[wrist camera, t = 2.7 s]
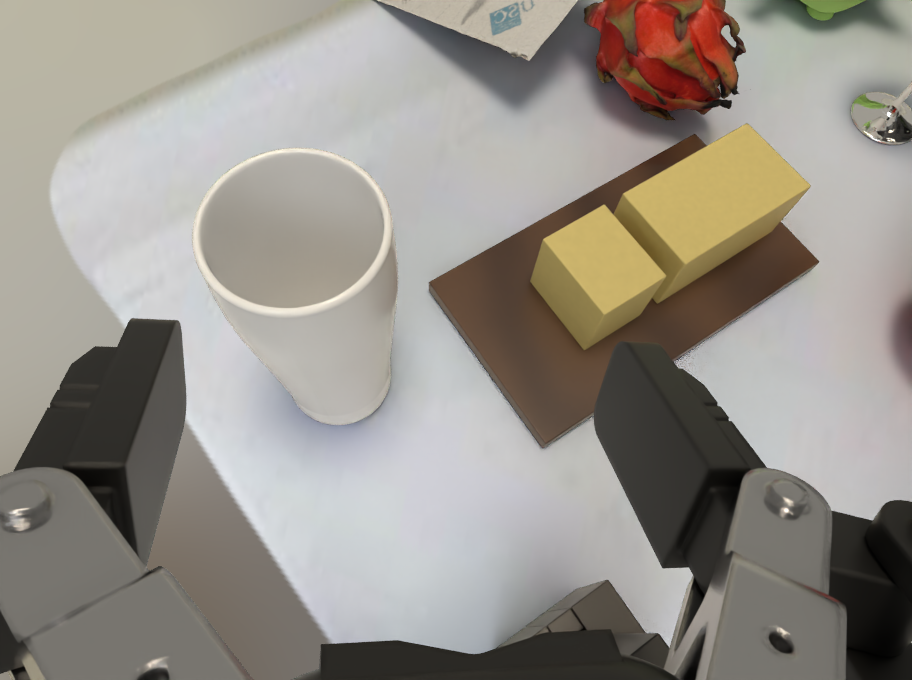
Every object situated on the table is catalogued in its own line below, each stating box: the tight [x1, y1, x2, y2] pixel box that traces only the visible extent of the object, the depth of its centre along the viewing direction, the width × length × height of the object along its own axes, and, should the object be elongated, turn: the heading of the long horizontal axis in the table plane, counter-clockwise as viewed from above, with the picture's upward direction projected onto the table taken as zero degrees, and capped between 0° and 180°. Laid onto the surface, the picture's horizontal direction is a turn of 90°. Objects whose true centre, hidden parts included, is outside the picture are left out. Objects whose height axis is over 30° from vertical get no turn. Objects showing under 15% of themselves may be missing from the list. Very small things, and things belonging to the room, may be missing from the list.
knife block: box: [496, 580, 645, 649], centre depth 28 cm, size 5×5×6 cm
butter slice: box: [530, 205, 666, 350], centre depth 36 cm, size 4×5×4 cm
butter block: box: [614, 124, 810, 304], centre depth 38 cm, size 9×5×4 cm, turn 124°
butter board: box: [429, 134, 819, 448], centre depth 39 cm, size 20×11×1 cm, turn 124°
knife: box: [613, 633, 669, 669], centre depth 25 cm, size 2×3×14 cm
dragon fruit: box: [584, 0, 751, 120], centre depth 42 cm, size 8×8×12 cm
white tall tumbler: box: [192, 148, 398, 425], centre depth 29 cm, size 7×7×15 cm
